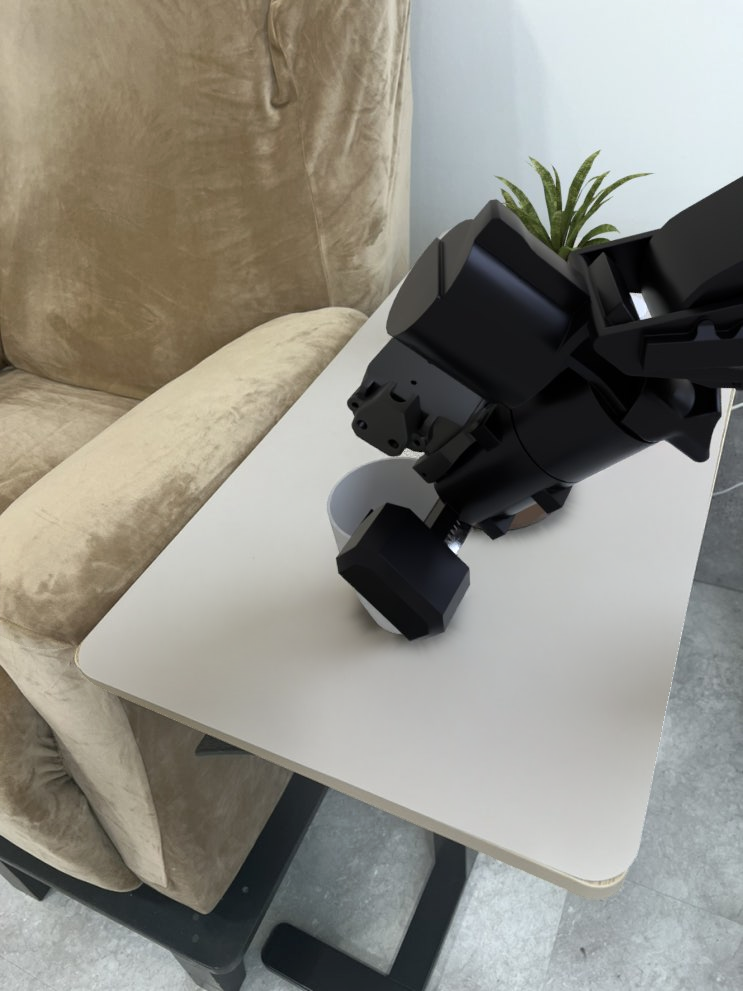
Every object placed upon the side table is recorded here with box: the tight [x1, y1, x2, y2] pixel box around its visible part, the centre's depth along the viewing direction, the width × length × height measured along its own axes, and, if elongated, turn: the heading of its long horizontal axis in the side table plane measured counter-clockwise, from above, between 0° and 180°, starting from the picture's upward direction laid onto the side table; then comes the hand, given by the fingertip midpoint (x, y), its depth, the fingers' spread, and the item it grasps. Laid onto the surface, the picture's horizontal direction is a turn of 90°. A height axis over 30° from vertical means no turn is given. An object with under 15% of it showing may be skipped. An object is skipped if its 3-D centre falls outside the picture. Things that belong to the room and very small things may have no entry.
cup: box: [326, 456, 459, 635], centre depth 50 cm, size 8×8×10 cm
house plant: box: [494, 149, 655, 263], centre depth 74 cm, size 14×14×16 cm
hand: (378, 531), depth 49 cm, fingers closed on cup, 8 cm apart
